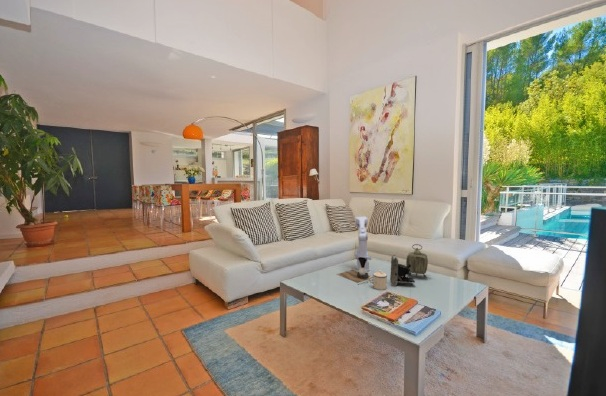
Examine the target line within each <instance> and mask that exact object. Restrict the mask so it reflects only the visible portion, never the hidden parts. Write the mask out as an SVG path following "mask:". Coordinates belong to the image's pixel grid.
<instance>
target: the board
mask: <svg viewBox="0 0 606 396" xmlns="http://www.w3.org/2000/svg"><path fill="white" fill-rule="evenodd" d="M358 272H359V270H358V271H357V270H354V269H351V270H347V271H344V272H340V273H336V276H339V277H342V278H344V279H347V280H350V281H352V282H354V283H356V284H357V286H359V285H362V284H366V283H368V282H369V277H370V276H371V275H369V274H368V278H367V279H361V278H358V277H357V273H358ZM372 279H373V278H372V277H371V278H370V281H371V282H372ZM367 280H368V281H367Z"/></svg>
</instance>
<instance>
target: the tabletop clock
mask: <svg viewBox="0 0 606 396" xmlns="http://www.w3.org/2000/svg"><path fill="white" fill-rule="evenodd" d="M414 246H419V247H421V248H418V247H417V248H416V247H414ZM411 248H412V249H413V250H414V251H409V253H408V254H407V257H406V261H405V262H406V263H405V266H409V265H408V264H410V265H411V267H409V269H410V272H409V274H408V276H411V274H415V276H414V278H416V279H418V275H423V277H424V278H425V277H427V276H426V274H427V270H428V266H429V265H428V264H429V263H428V261H429V259H428V256H427V254H426V253H424V252H421V250H422V249H423V246H422V245H421V244H419V243H417V244H416V243H415V244H413V245H412V246H411Z"/></svg>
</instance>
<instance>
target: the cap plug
mask: <svg viewBox="0 0 606 396" xmlns="http://www.w3.org/2000/svg"><path fill="white" fill-rule="evenodd" d="M358 272H359V274H360V275H366V273H367V271H366V267H364V268H361V267H359V270H358Z"/></svg>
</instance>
